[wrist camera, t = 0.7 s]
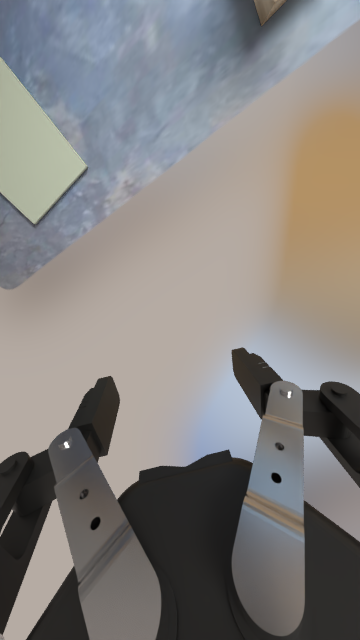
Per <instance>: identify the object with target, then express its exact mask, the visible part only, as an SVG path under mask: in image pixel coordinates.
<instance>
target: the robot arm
mask: <svg viewBox="0 0 360 640" xmlns="http://www.w3.org/2000/svg"><path fill="white" fill-rule="evenodd" d="M232 362H233V371H234V375H235V377H236V379H237V381H238V383H239V384H240V386H241V387H242V389H243V391H244V392H245V394H246V395H247V397H248V399H249V400H250V402H251V404H252V405H253V407H254V409H255V410H256V412H257V414H258V415H259V417H260V418H261V419H262V422H261V427H260V432H259V437H258V442H257V446H256V451H255V456H254V461H253V463H251V462H249V461H247V460H244V459H240V458H232V457H231V454H230V451H229V450H225V451H222V452H218V453H213V454H209V455H206V456H205V457H203V458H201V459H199V460H198V461H196V462H194V463H192V464H190V465H188V466H186V467H175V466H159V467H155V468H151V469H147V470H143V471H140V473H139V481H137V482H135V483H134V484H132V485H131V486H130V487H129V488H128V489H126V490H125V492H123V493H122V495H121V496H120V497H119V498H118V499H116V497H115V495H114V494H113V492H112V490H111V488H110V486H109V484H108V482H107V480H106V479H105V477H104V475H103V473H102V471H101V470H100V467H99V465H98V459H99V457H101V456H106V455H107V454H108V450H109V446H110V442H111V438H112V433H113V429H114V425H115V421H116V417H117V413H118V409H119V404H120V398H119V394H118V391H117V388H116V386H115V383H114V381H113V378H112V377H111V376H108V377H104V378H100V379H98V380H97V383H96V385H95V387H94V388H91V389H90V390H89V391H88V392H87V393H86V394H85V396H84V398H83V400H82V403H81V404H80V406H79V409H78V410H77V412H76V414H75V416H74V418H73V420H72V422H71V424H70V426H69V428H68V430H66V431H64V432H62V433H61V434H59V435H58V436H57V437H56V438H55V439H54V440H53V441H52V443H51V444H50V446H49V449H47V450H45V451H43V452H41V453H39V454H36V455H35V456H32V457H30V456H29V455H28V453H26V452H19V453H16V454H14V455H12V456H10V457H8V458H7V459H6V460H4V461H3V462H2V463H1V464H0V532H1V529H2V527H3V525H4V523H5V521H6V519H7V517H8V515H9V514H10V512H11V510H13V513H12V515H11V517H10V519H9V521H8V523H7V525H6V527H5V529H4V531H3V533H2V535H1V537H0V640H4V637H3V636H2V635H3V632H4V630H5V627H6V624H7V622H8V619H9V616H10V614H11V611H12V608H13V605H14V603H15V600H16V597H17V595H18V592H19V589H20V586H21V584H22V581H23V579H24V575H25V573H26V570H27V568H28V565H29V562H30V560H31V557H32V554H33V552H34V549H35V546H36V543H37V541H38V538H39V535H40V533H41V530H42V527H43V524H44V522H45V519H46V517H47V514H48V511H49V508H50V506H51V503H52V501H53V500H54V499H56V498H57V501H58V505H59V509H60V513H61V516H62V520H63V524H64V528H65V532H66V535H67V539H68V543H69V547H70V551H71V555H72V558H73V562H74V567H73V568H72V570H71V571H70V573H69V574H68V576H67V577H66V579H65V581H64V582H63V583H62V585H61V587H60V588H59V590H58V591H57V593H56V594H55V596H54V597H53V599H52V600H51V602H50V603H49V605H48V607H47V608H46V610H45V611H44V613H43V614H42V616H41V617H40V619H39V620H38V622H37V624H36V625H35V627H34V628H33V630H32V631H31V633H30V634H29V636H28V638H27V639H26V640H360V542H359V541H358V540H356V539H355V538H354V537H352V536H351V535H350V534H348V533H347V532H346V531H344V530H343V529H342V528H340V527H339V526H338V525H336V524H335V523H334V522H332V521H331V520H330V519H328V518H327V517H326V516H324V515H323V514H322V513H320V512H319V511H317V510H316V509H315V508H314V507H312V506H311V505H310V504H308V503H307V502H306V501H304V448H303V447H304V445H303V444H304V442H303V441H304V439H303V436H315V437H320V438H321V440H322V441H323V442H324V443H325V445H326V446H327V447H328V448H329V450H330V451H331V452H332V453H333V455H334V456H335V457H336V459H337V460H338V461H339V462H340V464H341V465H342V466H343V467H344V469H345V470H346V471H347V472H348V474H349V475H350V476H351V478H352V479H353V480H354V481H355V483H356V484H357V485H358V486H359V488H360V394H359V393H358V392H357V391H355V390H354V389H352V388H351V387H349V386H347V385H345V384H342V383H339V382H325V383H323V384H322V385H321V387H320V390H301V389H300V388H299V387H298V386H297V385H295V384H294V383H291V382H288V381H283V380H282V379H281V377H280V376H279V375H278V374H277V373H276V372H275V371H274V370H273V369H272V368H271V367H269V365H268V364H267V363H265V361H264V360H263V359H262V358H261V357H260V356H258V355H256V354H254V353H252V354H249V353H248V352H247V351H246V350H245V348H239V349H234V350H232Z"/></svg>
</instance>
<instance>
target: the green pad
mask: <svg viewBox="0 0 360 640" xmlns="http://www.w3.org/2000/svg"><path fill="white" fill-rule="evenodd" d="M87 168H88V166H87V165H86V164H85V163H84V161H83V160H82V159H81V158H80V156H79V155H78V154H77V153H76V151H75V150H74V149H73V148H72V146H71V145H70V144H69V142H68V141H67V140H66V139H65V137H64V136H63V135H62V134H61V132H60V131H59V130H58V129H57V127H56V126H55V125H54V124H53V122H52V121H51V120H50V118H49V117H48V116H47V115H46V113H45V112H44V111H43V110H42V108H41V107H40V106H39V105H38V103H37V102H36V101H35V100H34V98H33V97H32V96H31V95H30V93H29V92H28V91H27V89H26V88H25V87H24V86H23V84H22V83H21V82H20V81H19V79H18V78H17V77H16V76H15V74H14V73H13V72H12V71H11V69H10V68H9V67H8V65H7V64H6V63H5V62H4V60H3V59H2V58H1V57H0V192H1V193H2V194H3V195H4V196H5V197H6V198H7V199H8V200H9V201H10V202H11V203H12V204H13V205H14V206H15V207H16V208H17V209H19V210H20V211H21V212H22V213H23V214H24V215H25V216H26V217H27V218H28V219H29V220H30V221H31V222H32V223H33V224H37V223H38V222H39V220H40V219H41V218H42V217H43V216H44V215H45V214H46V213H47V212H48V211H49V209H50V208H51V207H52V206H53V205H54V204H55V203H56V202H57V201H58V200H59V198H60V197H61V196H62V195H63V194H64V193H65V192H66V191H67V190H68V189H69V187H70V186H71V185H72V184H73V183H74V182H75V181H76V180H77V179H78V178H79V177H80V175H81V174H82V173H83V172H84V171H85V170H86V169H87Z"/></svg>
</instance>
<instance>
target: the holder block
mask: <svg viewBox="0 0 360 640" xmlns="http://www.w3.org/2000/svg"><path fill="white" fill-rule="evenodd" d="M286 1H287V0H254V2H255V6H256V9H257V13H258V16H259V20H260V23H261V26H262V25H263V24H264V23H265V22H266V21H267V20H268V19H269V18H270V17H271V16H272V15H273V14H274V13H275V12H276V11H277V10H278V9H279V8H280V7H281V6H282V5H283V4H284V3H285V2H286Z"/></svg>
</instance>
